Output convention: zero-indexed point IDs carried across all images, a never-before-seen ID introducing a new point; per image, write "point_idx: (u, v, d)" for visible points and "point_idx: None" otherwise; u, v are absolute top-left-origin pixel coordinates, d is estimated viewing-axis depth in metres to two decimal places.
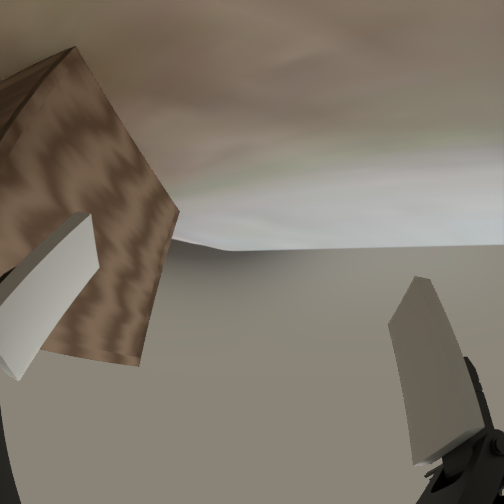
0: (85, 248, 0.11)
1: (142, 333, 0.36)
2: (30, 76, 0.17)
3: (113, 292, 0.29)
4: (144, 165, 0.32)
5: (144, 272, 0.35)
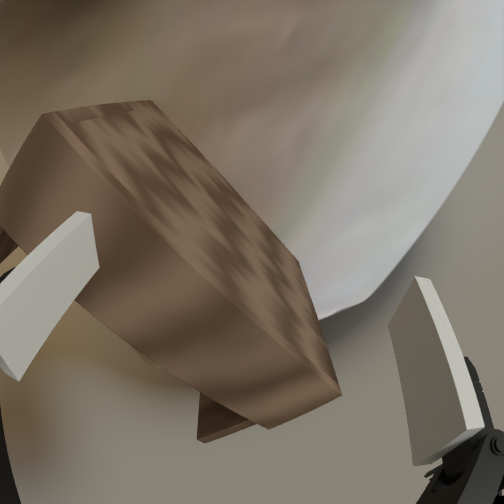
0: (85, 248, 0.11)
1: (325, 353, 0.26)
2: None
3: (266, 278, 0.26)
4: (242, 200, 0.37)
5: (293, 287, 0.31)
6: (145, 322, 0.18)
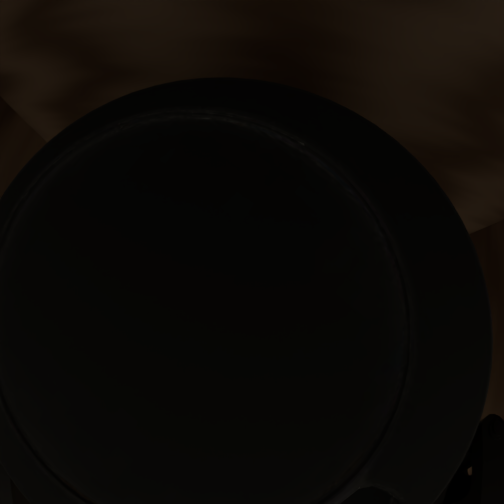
0: None
1: None
2: None
3: None
4: None
5: None
6: None
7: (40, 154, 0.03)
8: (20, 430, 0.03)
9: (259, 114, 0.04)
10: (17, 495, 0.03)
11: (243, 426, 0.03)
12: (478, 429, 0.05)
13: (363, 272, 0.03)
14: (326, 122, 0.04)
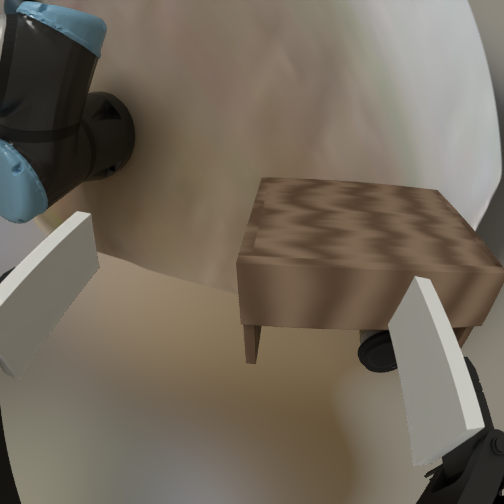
0: (85, 248, 0.11)
1: (485, 250, 0.27)
2: None
3: (417, 232, 0.31)
4: (371, 184, 0.43)
5: (441, 219, 0.33)
6: (367, 311, 0.28)
7: (374, 349, 0.41)
8: (371, 364, 0.44)
9: None
10: None
11: (390, 359, 0.43)
12: None
13: None
14: None
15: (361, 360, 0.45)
